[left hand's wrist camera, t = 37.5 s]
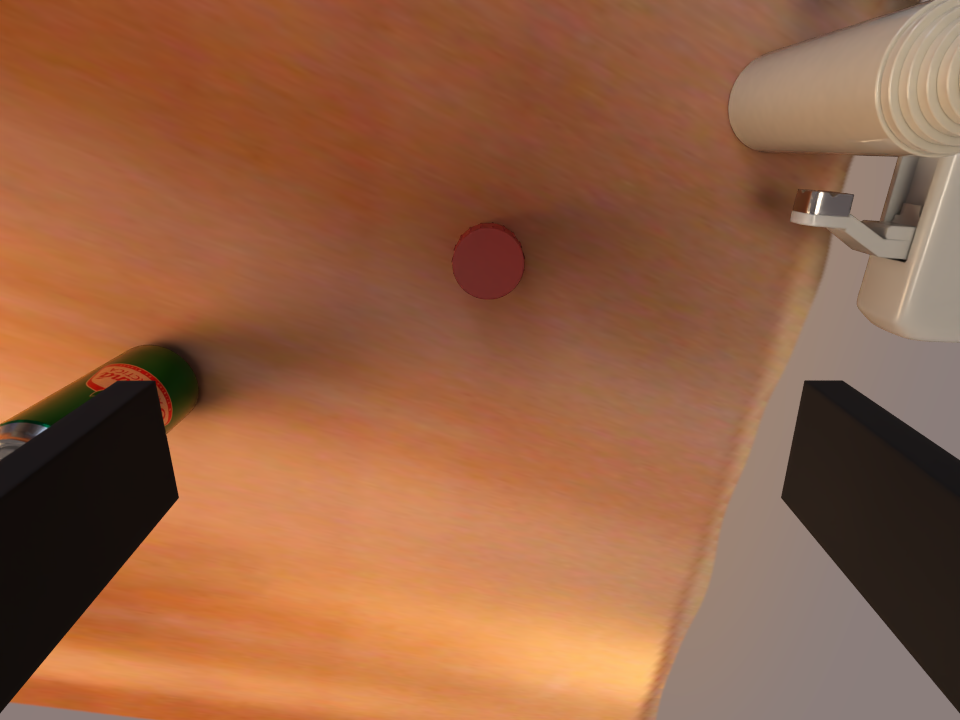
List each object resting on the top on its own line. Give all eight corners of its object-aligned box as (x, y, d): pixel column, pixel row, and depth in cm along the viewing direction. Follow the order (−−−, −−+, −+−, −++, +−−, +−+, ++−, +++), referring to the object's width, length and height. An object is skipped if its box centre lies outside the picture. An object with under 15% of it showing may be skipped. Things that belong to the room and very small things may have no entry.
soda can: (220, 385, 37) (103, 490, 26) (167, 433, 38) (34, 554, 27) (154, 324, 36) (2, 407, 25) (102, 377, 37) (-66, 479, 26)
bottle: (731, 52, 31) (1016, -53, 14) (830, 47, 31) (1232, -66, 14) (724, 154, 33) (970, 167, 16) (817, 149, 33) (1164, 157, 16)
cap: (523, 290, 35) (526, 299, 33) (455, 292, 35) (453, 302, 33) (522, 220, 34) (524, 225, 32) (451, 223, 34) (449, 228, 32)
